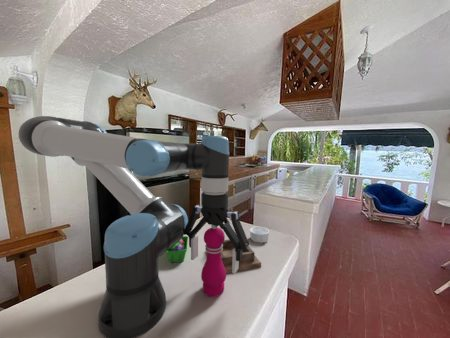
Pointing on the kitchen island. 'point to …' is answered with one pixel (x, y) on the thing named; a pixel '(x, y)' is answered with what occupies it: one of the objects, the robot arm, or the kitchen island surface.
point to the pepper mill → (213, 263)
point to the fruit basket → (178, 250)
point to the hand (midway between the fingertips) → (213, 264)
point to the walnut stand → (246, 261)
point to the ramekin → (259, 234)
